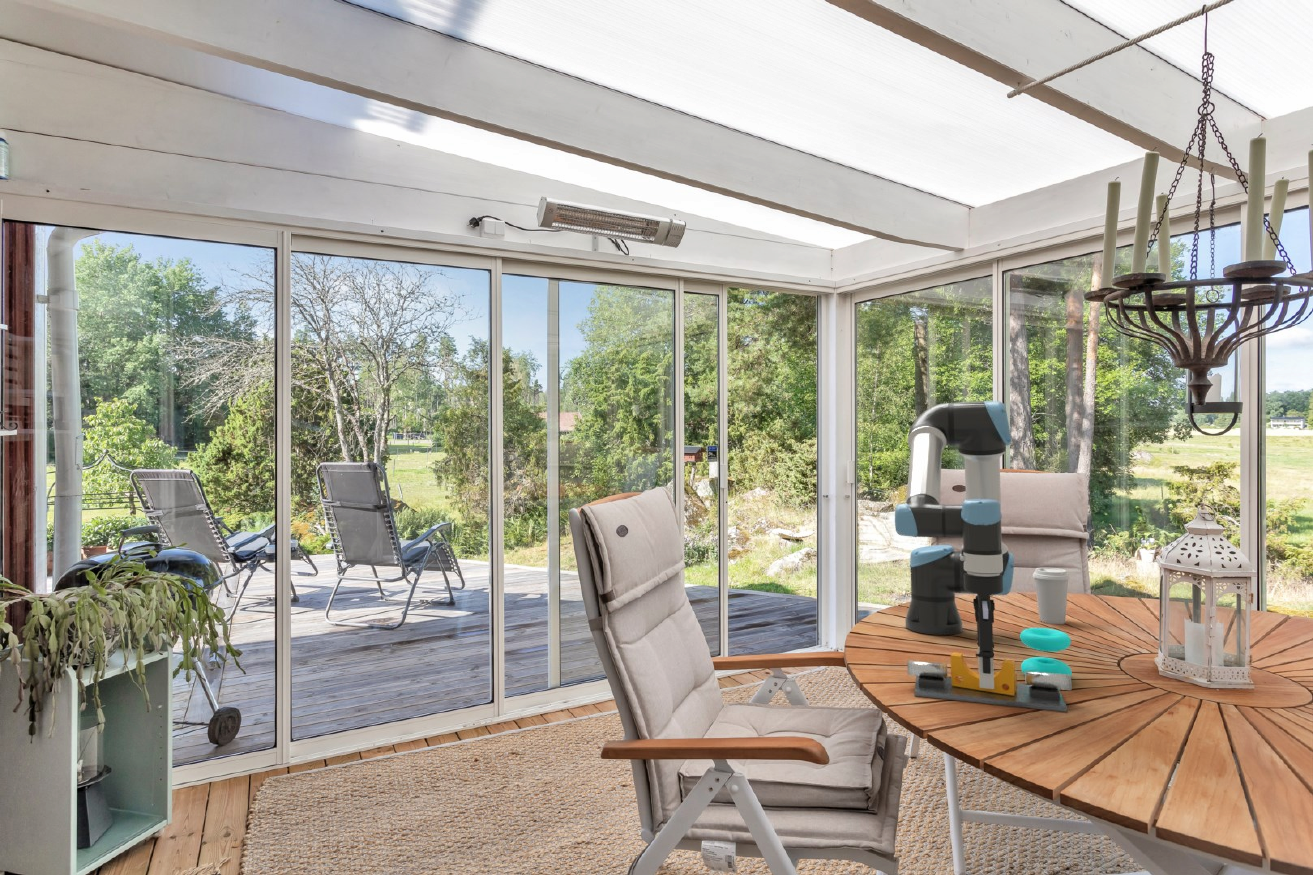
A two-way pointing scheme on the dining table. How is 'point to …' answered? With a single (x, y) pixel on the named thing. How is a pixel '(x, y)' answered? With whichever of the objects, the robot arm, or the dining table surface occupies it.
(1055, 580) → the coffee cup
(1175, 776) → the dining table surface
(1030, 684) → the shaft stand
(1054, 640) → the donuts
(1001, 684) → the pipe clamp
